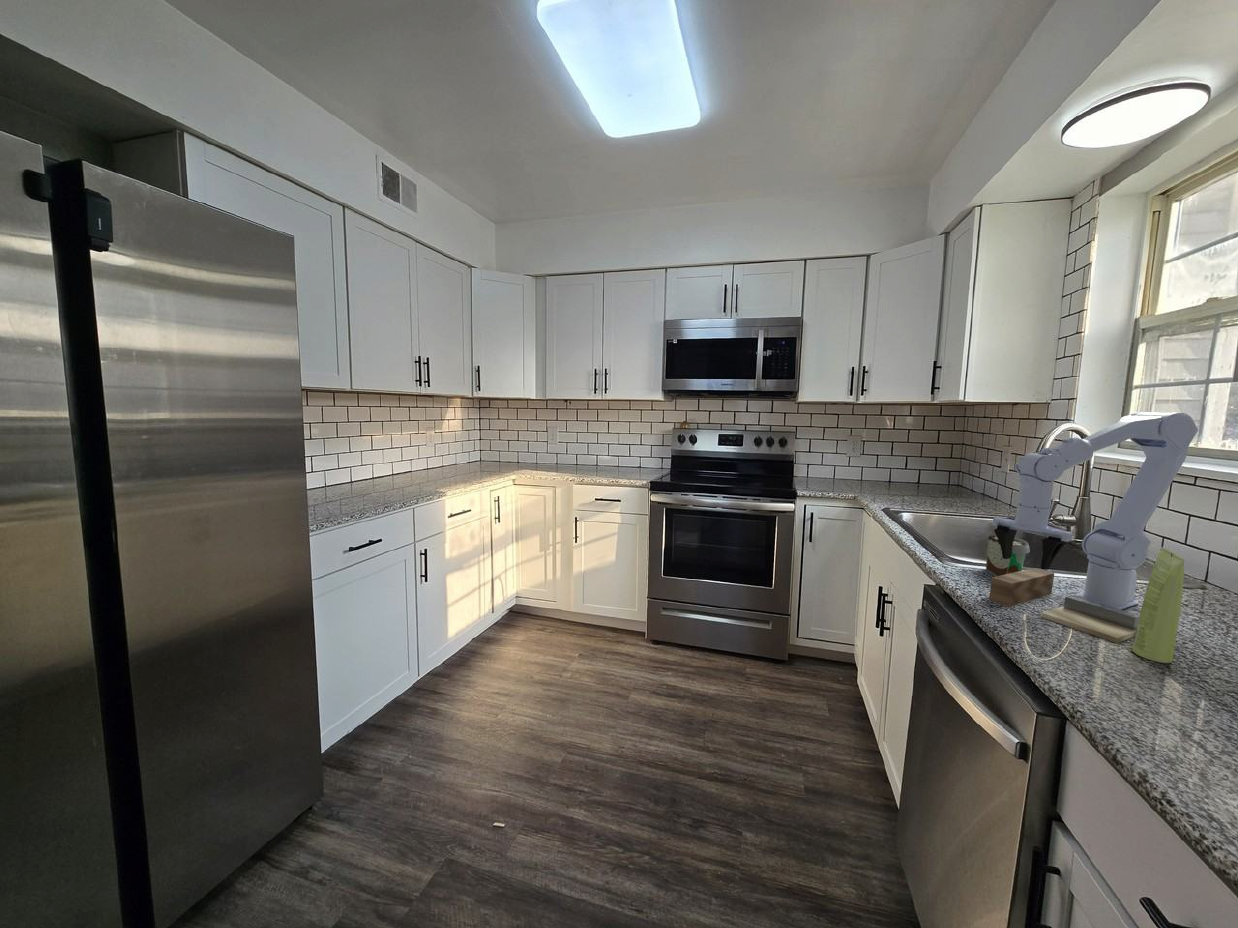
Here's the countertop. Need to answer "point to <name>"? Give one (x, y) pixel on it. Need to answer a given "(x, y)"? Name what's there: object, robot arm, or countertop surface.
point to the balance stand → (1094, 619)
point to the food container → (1005, 566)
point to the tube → (1161, 609)
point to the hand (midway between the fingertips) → (1025, 563)
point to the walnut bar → (1021, 586)
